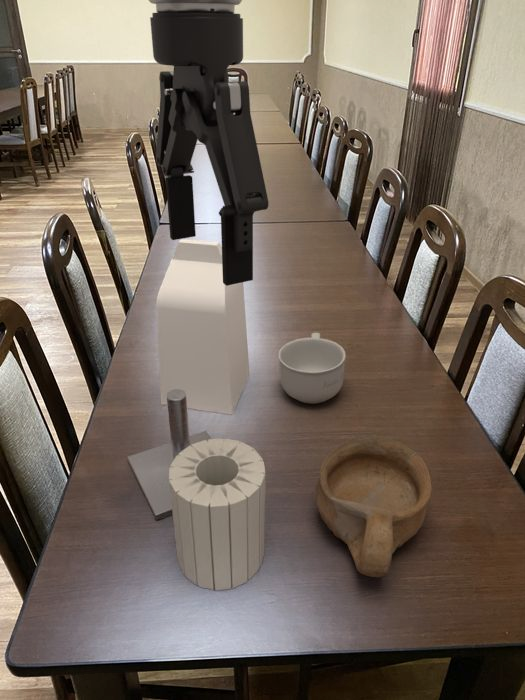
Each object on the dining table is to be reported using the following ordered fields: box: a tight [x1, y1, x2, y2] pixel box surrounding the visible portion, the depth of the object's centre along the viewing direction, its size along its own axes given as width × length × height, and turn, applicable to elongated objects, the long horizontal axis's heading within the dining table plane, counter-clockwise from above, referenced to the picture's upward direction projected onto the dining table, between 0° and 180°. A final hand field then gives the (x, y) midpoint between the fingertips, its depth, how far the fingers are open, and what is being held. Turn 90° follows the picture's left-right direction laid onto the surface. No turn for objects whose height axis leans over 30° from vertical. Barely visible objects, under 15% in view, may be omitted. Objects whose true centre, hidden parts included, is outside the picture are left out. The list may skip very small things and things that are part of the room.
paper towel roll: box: [169, 437, 266, 591], centre depth 60 cm, size 10×10×13 cm
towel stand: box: [126, 389, 212, 522], centre depth 70 cm, size 12×12×14 cm
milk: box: [155, 238, 251, 416], centre depth 84 cm, size 12×12×26 cm
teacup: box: [277, 332, 347, 405], centre depth 90 cm, size 14×11×8 cm
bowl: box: [315, 436, 433, 578], centre depth 63 cm, size 18×14×10 cm
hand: (208, 257), depth 54 cm, fingers open, 13 cm apart
